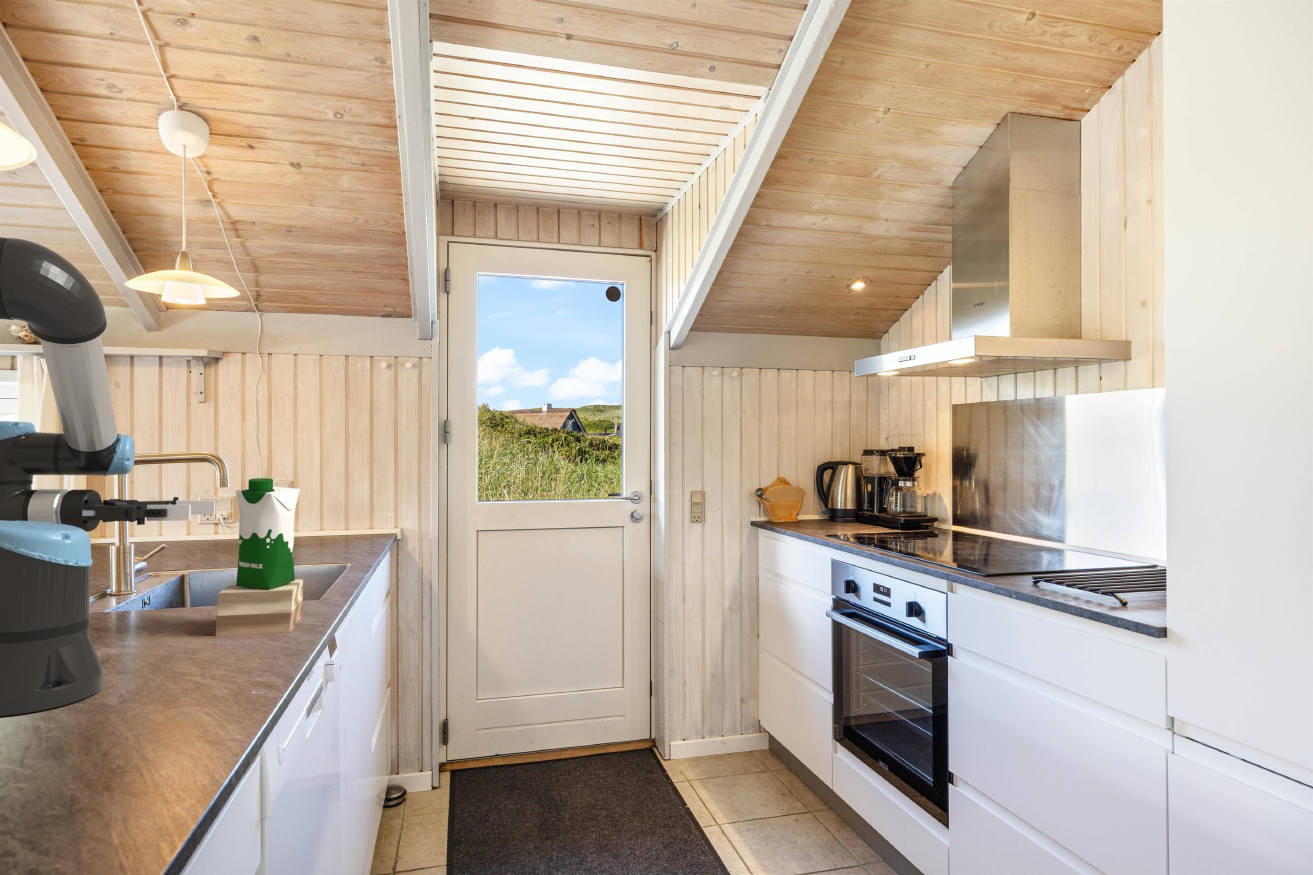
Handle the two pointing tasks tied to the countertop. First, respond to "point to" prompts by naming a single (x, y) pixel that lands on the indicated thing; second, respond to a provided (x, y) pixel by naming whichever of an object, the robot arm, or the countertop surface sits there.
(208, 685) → the countertop surface
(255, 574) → the fresh milk carton
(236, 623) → the block lower
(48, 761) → the countertop surface
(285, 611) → the block upper
